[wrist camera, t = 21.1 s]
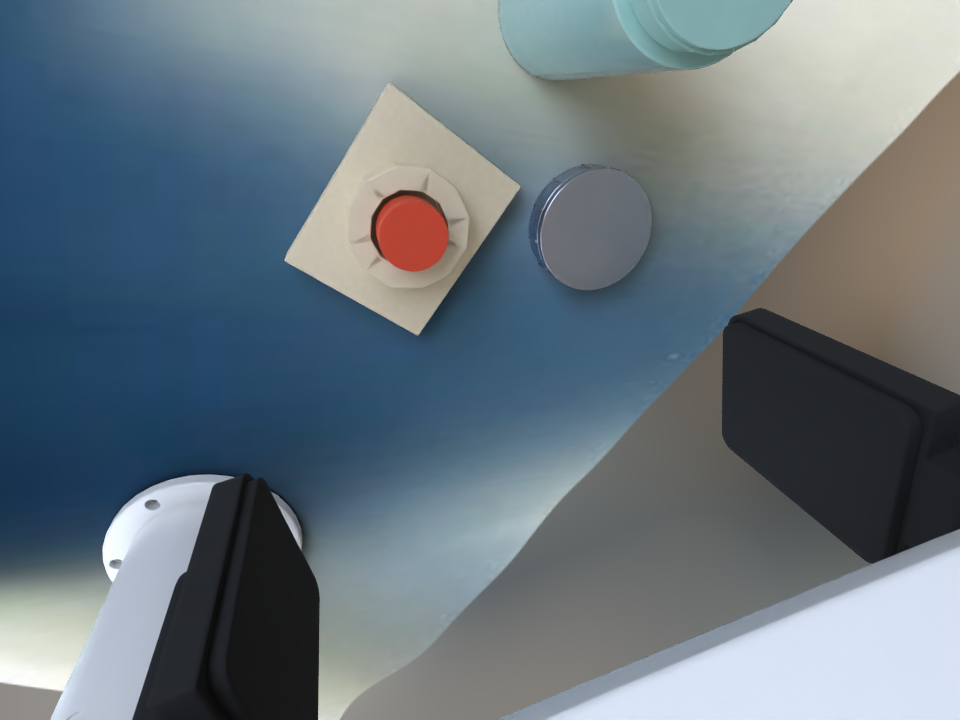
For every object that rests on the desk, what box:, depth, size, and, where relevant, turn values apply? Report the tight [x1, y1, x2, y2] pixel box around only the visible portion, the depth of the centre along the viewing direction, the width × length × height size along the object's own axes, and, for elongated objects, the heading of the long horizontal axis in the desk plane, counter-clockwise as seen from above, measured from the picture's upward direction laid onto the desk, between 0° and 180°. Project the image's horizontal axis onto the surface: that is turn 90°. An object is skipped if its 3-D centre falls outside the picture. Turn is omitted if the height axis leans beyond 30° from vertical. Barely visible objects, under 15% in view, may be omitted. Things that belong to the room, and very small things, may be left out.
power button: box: [376, 195, 449, 272], centre depth 28 cm, size 4×4×2 cm
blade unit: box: [529, 164, 652, 290], centre depth 34 cm, size 8×8×2 cm
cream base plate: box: [285, 84, 521, 335], centre depth 30 cm, size 11×9×4 cm
